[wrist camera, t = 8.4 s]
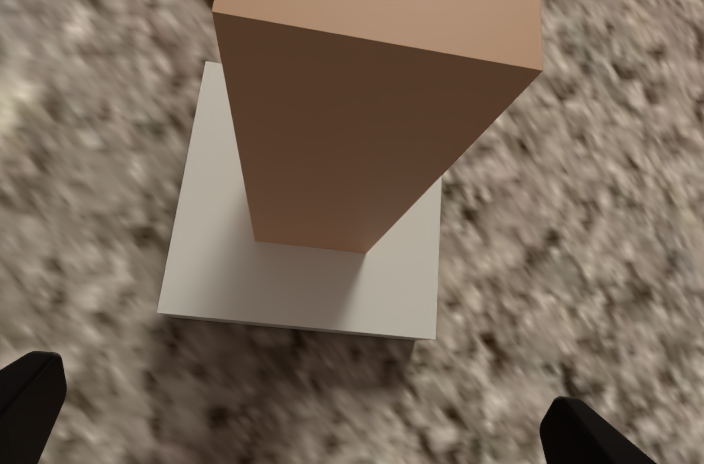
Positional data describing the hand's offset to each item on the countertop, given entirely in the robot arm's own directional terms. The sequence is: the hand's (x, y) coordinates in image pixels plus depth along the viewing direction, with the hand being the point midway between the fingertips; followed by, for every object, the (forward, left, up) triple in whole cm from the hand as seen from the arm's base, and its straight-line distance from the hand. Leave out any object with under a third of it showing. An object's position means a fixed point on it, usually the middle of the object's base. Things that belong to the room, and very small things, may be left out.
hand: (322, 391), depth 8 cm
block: (+5, +4, -8) cm, 10 cm away
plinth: (+5, +4, -10) cm, 12 cm away
